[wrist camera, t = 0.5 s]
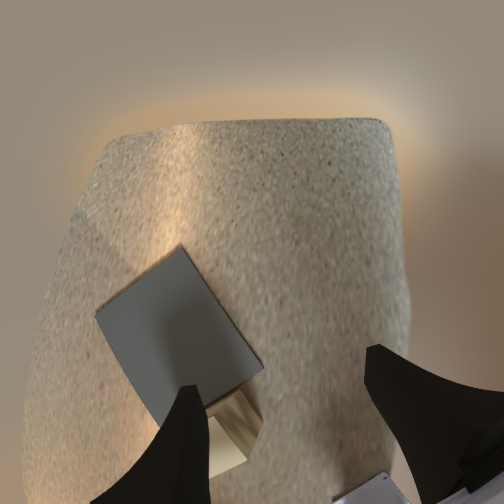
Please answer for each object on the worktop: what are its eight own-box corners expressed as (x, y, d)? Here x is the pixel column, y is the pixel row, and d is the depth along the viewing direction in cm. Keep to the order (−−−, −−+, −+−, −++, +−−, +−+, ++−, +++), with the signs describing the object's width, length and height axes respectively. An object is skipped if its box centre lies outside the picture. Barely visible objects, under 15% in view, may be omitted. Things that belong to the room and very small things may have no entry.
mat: (264, 367, 35) (263, 368, 35) (163, 428, 35) (161, 430, 35) (183, 248, 40) (181, 247, 40) (96, 316, 40) (94, 315, 39)
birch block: (263, 421, 34) (247, 460, 22) (211, 449, 34) (178, 491, 22) (239, 388, 35) (213, 415, 24) (188, 419, 35) (146, 451, 24)
